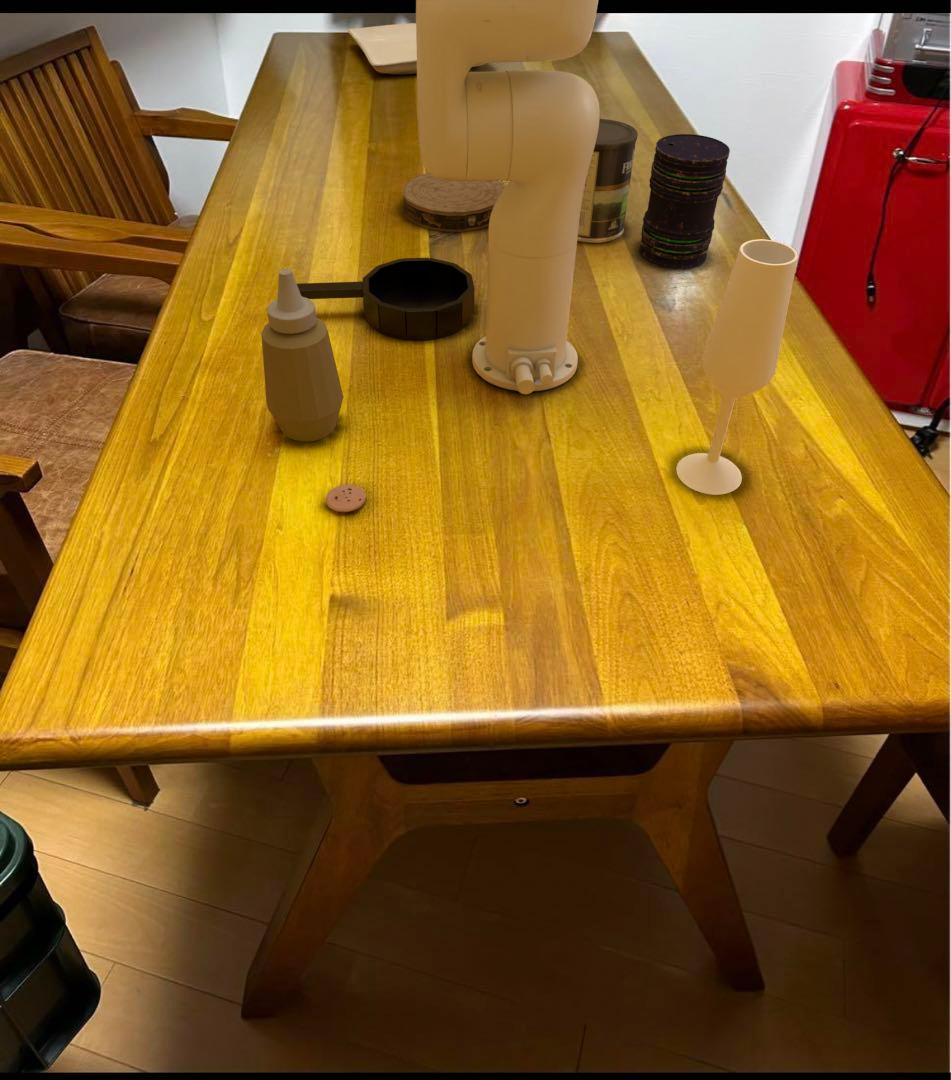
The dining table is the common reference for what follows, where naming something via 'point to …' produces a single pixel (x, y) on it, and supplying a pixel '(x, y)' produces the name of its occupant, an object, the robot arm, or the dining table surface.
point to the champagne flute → (742, 350)
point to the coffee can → (607, 183)
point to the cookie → (345, 498)
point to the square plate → (390, 47)
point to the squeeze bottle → (299, 366)
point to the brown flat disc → (450, 203)
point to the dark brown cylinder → (683, 200)
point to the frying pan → (408, 297)
